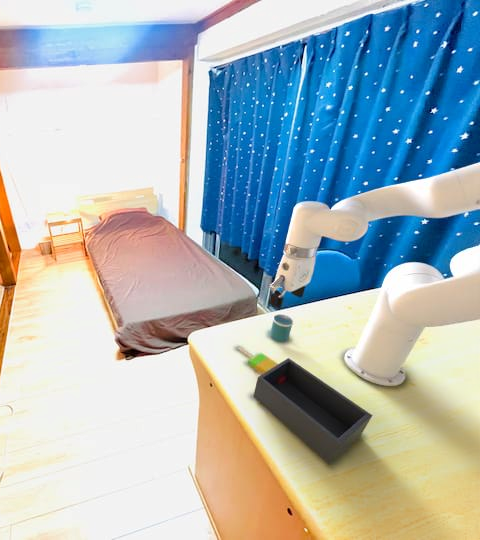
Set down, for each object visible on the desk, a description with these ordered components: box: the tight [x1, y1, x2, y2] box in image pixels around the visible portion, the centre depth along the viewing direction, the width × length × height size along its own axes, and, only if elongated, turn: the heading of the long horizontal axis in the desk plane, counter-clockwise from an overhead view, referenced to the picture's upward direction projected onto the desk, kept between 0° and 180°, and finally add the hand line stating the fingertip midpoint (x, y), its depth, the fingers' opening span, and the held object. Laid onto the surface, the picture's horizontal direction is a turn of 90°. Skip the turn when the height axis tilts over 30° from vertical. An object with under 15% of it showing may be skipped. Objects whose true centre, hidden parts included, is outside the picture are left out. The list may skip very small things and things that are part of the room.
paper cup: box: [269, 314, 294, 343], centre depth 88 cm, size 5×5×7 cm
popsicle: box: [237, 346, 285, 383], centre depth 80 cm, size 6×3×15 cm
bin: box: [252, 357, 373, 465], centre depth 65 cm, size 12×19×8 cm, turn 28°
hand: (286, 300), depth 83 cm, fingers open, 9 cm apart
